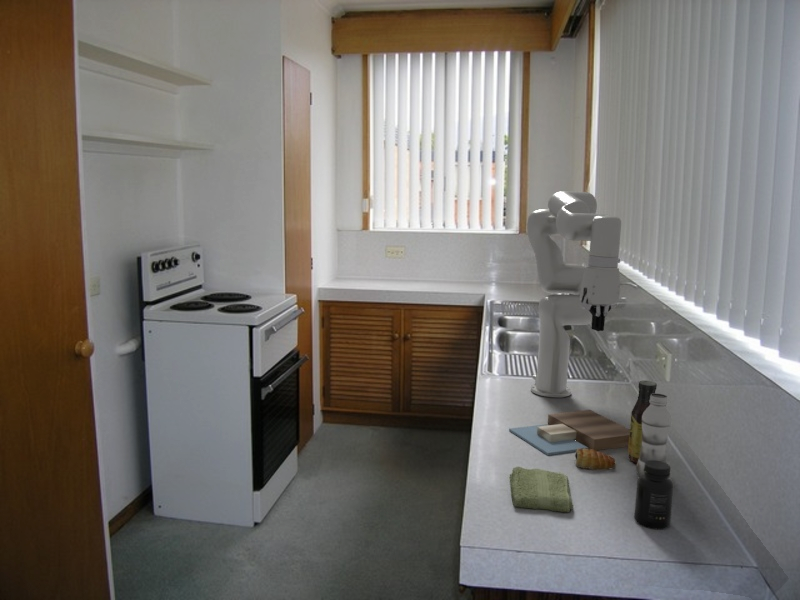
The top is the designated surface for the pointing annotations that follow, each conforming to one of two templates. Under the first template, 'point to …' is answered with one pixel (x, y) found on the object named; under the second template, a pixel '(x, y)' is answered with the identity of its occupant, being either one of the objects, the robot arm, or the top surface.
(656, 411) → the plastic bottle
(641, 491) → the supplement bottle
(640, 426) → the sauce bottle
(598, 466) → the pastry
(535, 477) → the washcloth
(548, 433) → the birch tile
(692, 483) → the top surface
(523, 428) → the rubber mat
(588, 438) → the walnut stand
